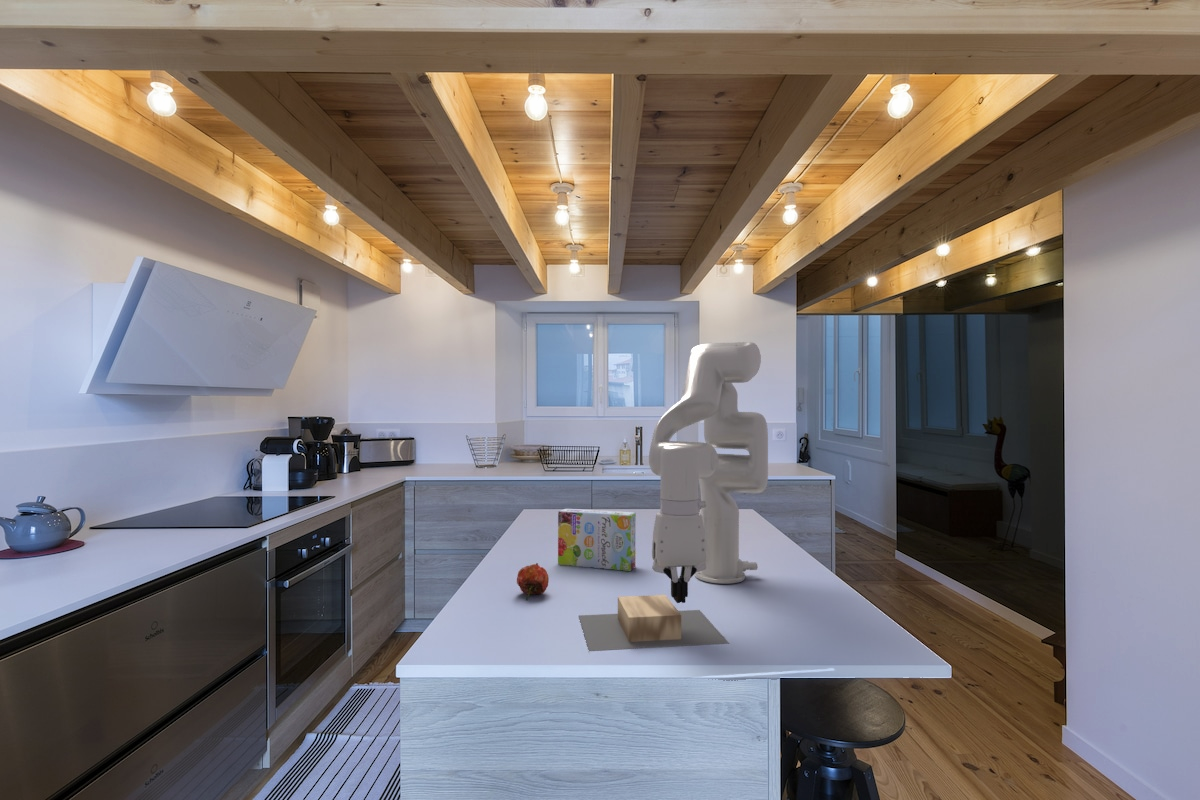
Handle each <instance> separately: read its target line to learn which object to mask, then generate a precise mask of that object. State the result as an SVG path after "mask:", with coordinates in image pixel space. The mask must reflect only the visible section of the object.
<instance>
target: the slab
mask: <svg viewBox="0 0 1200 800" xmlns="http://www.w3.org/2000/svg"><path fill="white" fill-rule="evenodd" d="M679 611H680V610H678V608H677V607H676V606H675V605H674V604H673V602H672V601H671V600H670V599H669V598H668V596H667V595H666V594H653V595H652V594H651V595H629V596H617V614H618V621H619V623H620V625H621V627H622V629H623V631H624V633H625V635H626V637H627V639H628V642H638V641H657V640H676V639H681V614H680V613H679Z"/></svg>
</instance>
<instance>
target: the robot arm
mask: <svg viewBox="0 0 1200 800" xmlns="http://www.w3.org/2000/svg"><path fill="white" fill-rule="evenodd" d="M760 350H761V349H760V348H759V346H758V345H757V344H756V343H755V342H752V341H746V342H745V341H743V342H741V341H739V342H738V341H737V342H713V343H712V342H711V343H710V342H709V343H703V344H698V345H696V346H694V347H693V348H691V350H690V353H689V358H688V364H687V368H686V373H685V378H684V384H683V387H682V388H683V389H682V393H681V399H680V400H679V401H678V402H676V403H675V404H674V405H672V406H671V407H670V408H669V409H668V410H667V411H666V412H665V413H664V414H663V415H662V417H660V418H659V420H658V422H657V423H656V425H655V427H654V429H653V433H652V437H651V441H650V442H651V443H650V447H649V452H648V453H649V454H648V464H649V469H650V470H651V472H652V473H653V474H655V475H656V476H659V477H660V492H659V493H660V497H659V498H660V501H659V502H660V507H659V508H660V512H657V513H656V515H655V518H654V523H653V525H654V526H653V532H652V533H653V535H652V544H651V545H652V546H651V547H652V548H651V557H652V560H653V563H652V566H651V567H652V568H651V569H652V571H654V572H655V573H660V574H663V575H664V574H665V575H666V576H667V577H668V578H669V579H670V596H671V598H673V600H674V602H676V604H681V603H682V604H684V603H686V598H688V595H689V587H688V585H689V582H690V581H691V579H692V577H693V576H694V575H695V576H694V577H696V578H697V580H700V581H702V582H707V583H711V584H712V583H713V584H720V585H721V584H722V585H724V584H725V585H727V584H729V585H731V584H737V583H741V582H743V581H744V580H745V579H746V574H745V572H746V571H757V570H758V562H756V561H754V562H753V561H752V562H751V561H748V560H742V559H740V511H739V510H740V509H739V505H738V504H737V502H736V501H735V499H734V498H733V496H732V495H731V494H730V493H743V494H744V493H746V494H759V493H763V492H764V491H766V488H767V487H768V481H769V480H768V479H769V436H768V435H769V431H768V423H767V421H766V418H765V416H764V415H762V414H761V413H760V412H756V411H755V412H754V411H739V409H738V407H739V406H738V391H737V389H736V387H735V386H734V385H733V383H736V384H739V383H741V384H742V383H748V382H750V381H752V379H753V378H754V377H755V376H756V375H757V374H758V373H759V371H760V367H761V362H762V361H761V357H762V356H761V351H760ZM702 421H703V435H704V436H703V437H704V441H705V442H702V441H700V442H699V441H675V440H674V441H673V440H672V441H671V439H672V438H673V436H674V435H676V434H677V433H678V432H679V431H681V430H683V429H684V428H686V427H688V426H691V425H695V424H697V423H699V422H702ZM715 448H716V449H724V450H725V449H728V450H746V451H747V452H748V454H734V453H718V452H717V450H716V449H715ZM699 492H700V493H699ZM699 495H700V497H699ZM700 512H701V513H700ZM679 567H680V574H678V569H677V568H679ZM679 575H680V576H679Z"/></svg>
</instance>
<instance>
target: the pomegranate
mask: <svg viewBox="0 0 1200 800" xmlns="http://www.w3.org/2000/svg"><path fill="white" fill-rule="evenodd" d="M516 577H517V578H516V584H517V585H518V587H519V588H520V591H521V592H522V593H523V594H526V595H527V596H526V601H528V599H529V597H530V595H541V594H542V595H543V593H545V592H546V590H547V588H548V586H549V578H550V577H549V573H548V571H547V570H546V568H544V567H543V566H540V565H539V563H537V562H536V563H534V564H530V565H526V566H524V567H521V569H519V571H518V573H517V576H516Z"/></svg>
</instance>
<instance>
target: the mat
mask: <svg viewBox="0 0 1200 800" xmlns="http://www.w3.org/2000/svg"><path fill="white" fill-rule="evenodd" d="M678 611H679V613H680V614H681V639H676V640H657V641H638V642H628V639H627V637H626V635H625V633H624V631H623V629H622V627H621V625H620V623H619V621H618V613H604V614H600V613H599V614H585V615H584V614H583V615H582V614H581V615H578V620H580V621H579V623H581V624H580V626H581V629H582V630H583V631H582V633H584V634H583V637H584V640H586V641H585V643H587V644H586V647H588V648H587V650H589V651H588V652H596V651H597V652H598V651H600V652H602V651H615V650H616V651H617V650H634V649H635V650H636V649H637V650H638V649H651V648H652V649H653V648H657V649H658V648H670V647H671V648H673V647H674V648H675V647H688V646H689V647H691V646H705V645H706V646H708V645H710V646H711V645H725V644H726V645H727V644H730V642H729V641H728V640H727V639H726V638H725V636H724V635H723V634H722V633H721V632H720V631H719V630H718V629H717V628H716V626H715V625H714V624H713V623H712V622H711V621H710V620H709V619H708V618H707V617H706V615H704V613H703V612H702V611H701V610H700V609H691V610H690V609H689V610H688V609H687V610H678Z"/></svg>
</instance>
